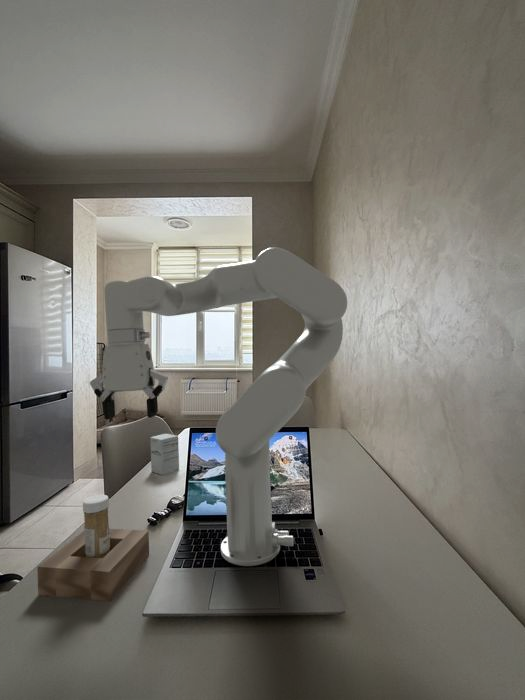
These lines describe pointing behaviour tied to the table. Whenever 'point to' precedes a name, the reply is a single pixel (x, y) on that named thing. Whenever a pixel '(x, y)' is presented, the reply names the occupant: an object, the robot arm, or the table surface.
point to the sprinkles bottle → (96, 526)
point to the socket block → (93, 567)
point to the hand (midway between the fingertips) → (131, 417)
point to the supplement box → (164, 454)
